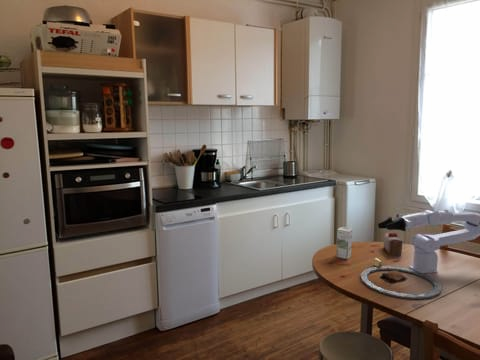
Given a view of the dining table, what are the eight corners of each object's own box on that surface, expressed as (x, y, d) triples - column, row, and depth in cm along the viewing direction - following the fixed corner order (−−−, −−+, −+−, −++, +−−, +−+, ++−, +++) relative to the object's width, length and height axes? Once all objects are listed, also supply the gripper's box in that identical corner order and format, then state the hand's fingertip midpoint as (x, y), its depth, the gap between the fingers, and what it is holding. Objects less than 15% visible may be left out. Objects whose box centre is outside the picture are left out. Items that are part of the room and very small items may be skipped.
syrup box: (351, 256, 195) (352, 228, 193) (347, 260, 190) (349, 230, 188) (339, 254, 198) (341, 226, 196) (335, 257, 193) (337, 228, 191)
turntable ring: (404, 262, 187) (405, 256, 187) (459, 295, 153) (460, 288, 152) (343, 266, 181) (344, 259, 181) (386, 301, 147) (386, 293, 146)
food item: (381, 246, 211) (382, 229, 209) (396, 247, 210) (398, 229, 208) (387, 255, 197) (389, 236, 196) (404, 256, 196) (405, 237, 195)
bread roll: (393, 273, 176) (394, 265, 175) (409, 280, 168) (410, 272, 168) (376, 278, 171) (377, 270, 170) (392, 285, 163) (393, 277, 163)
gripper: (400, 211, 181) (373, 216, 180) (419, 212, 167) (389, 218, 165) (403, 226, 181) (376, 232, 179) (422, 229, 167) (392, 235, 165)
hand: (382, 226), depth 172 cm, fingers open, 7 cm apart
